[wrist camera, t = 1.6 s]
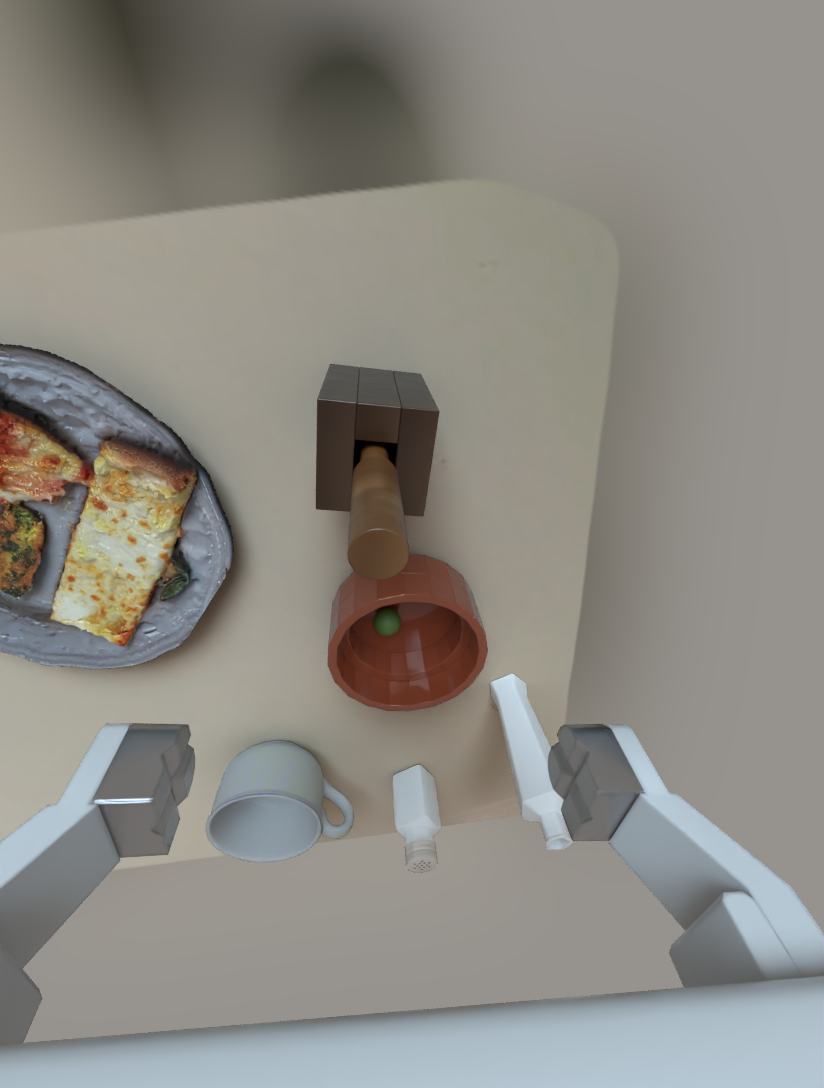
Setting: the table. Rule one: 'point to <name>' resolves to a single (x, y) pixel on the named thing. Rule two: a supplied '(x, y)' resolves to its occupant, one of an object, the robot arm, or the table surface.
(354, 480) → the stirring stick
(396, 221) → the table surface
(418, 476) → the utensil block
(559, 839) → the white faceted bottle
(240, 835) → the teacup
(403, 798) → the salt shaker
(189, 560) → the food plate
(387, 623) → the bead
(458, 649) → the bowl
